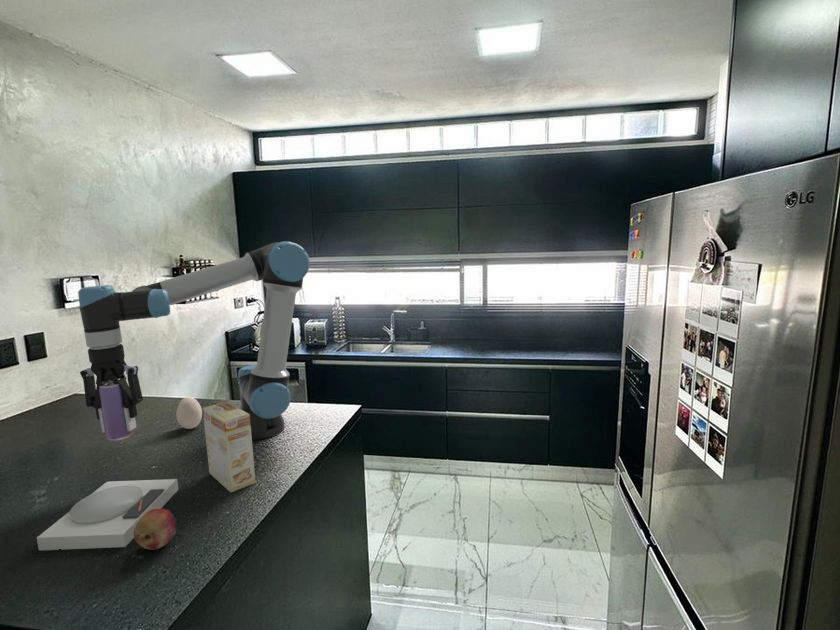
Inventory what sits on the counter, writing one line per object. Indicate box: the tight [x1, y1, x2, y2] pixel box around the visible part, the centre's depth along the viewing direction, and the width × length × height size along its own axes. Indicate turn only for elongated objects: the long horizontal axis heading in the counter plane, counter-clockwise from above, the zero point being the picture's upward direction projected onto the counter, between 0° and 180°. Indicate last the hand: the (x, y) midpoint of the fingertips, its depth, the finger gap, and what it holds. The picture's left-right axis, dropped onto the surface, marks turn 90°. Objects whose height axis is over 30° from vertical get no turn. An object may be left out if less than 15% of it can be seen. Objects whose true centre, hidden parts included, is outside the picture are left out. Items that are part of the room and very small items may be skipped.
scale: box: [36, 478, 179, 551], centre depth 103 cm, size 18×22×4 cm
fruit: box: [133, 508, 178, 551], centre depth 92 cm, size 8×8×8 cm
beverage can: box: [99, 381, 135, 442], centre depth 116 cm, size 6×6×15 cm
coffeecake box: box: [202, 401, 257, 494], centre depth 118 cm, size 15×7×20 cm, turn 45°
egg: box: [175, 396, 203, 430], centre depth 153 cm, size 8×8×11 cm
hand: (119, 429), depth 117 cm, fingers closed on beverage can, 6 cm apart
